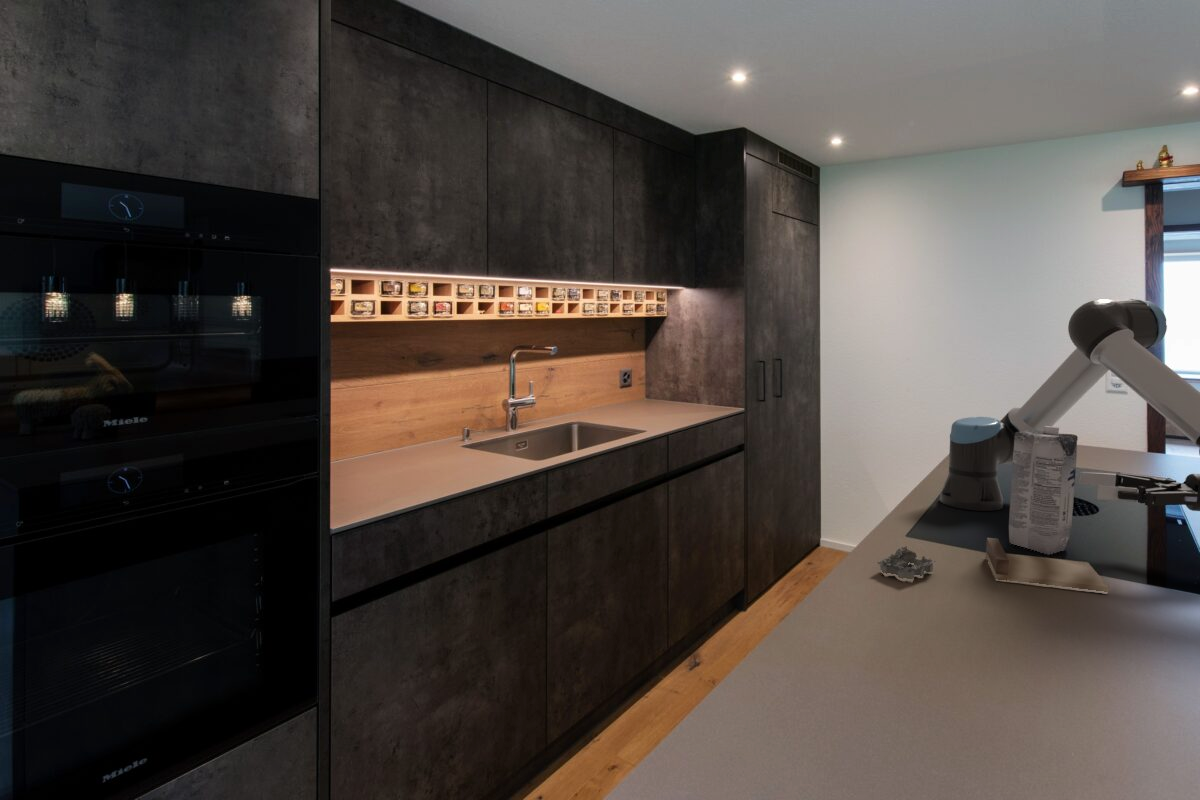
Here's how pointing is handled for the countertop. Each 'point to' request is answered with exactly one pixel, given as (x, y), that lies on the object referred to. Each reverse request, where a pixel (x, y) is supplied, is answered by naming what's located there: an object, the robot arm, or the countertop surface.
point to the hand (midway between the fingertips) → (1088, 484)
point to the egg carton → (905, 564)
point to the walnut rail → (997, 556)
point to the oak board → (1051, 572)
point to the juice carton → (1042, 489)
